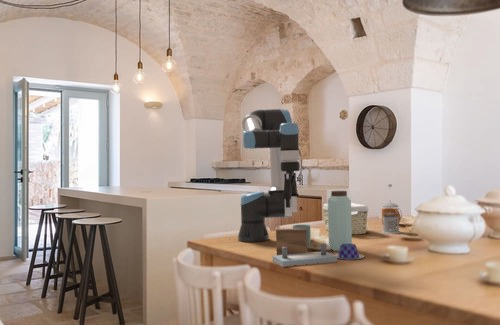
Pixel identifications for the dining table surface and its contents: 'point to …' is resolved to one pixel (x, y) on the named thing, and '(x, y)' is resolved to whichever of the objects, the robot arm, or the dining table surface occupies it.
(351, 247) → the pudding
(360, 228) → the storage basket
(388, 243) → the dining table surface
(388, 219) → the french press
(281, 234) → the wooden block
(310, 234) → the cup
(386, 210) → the glass coffee carafe
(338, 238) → the water bottle
